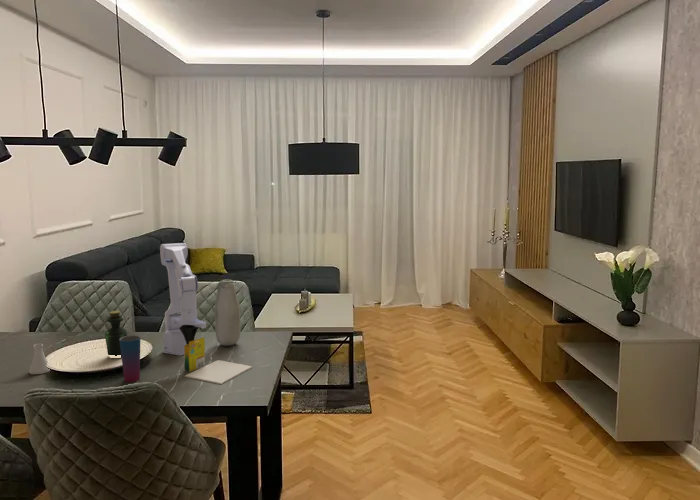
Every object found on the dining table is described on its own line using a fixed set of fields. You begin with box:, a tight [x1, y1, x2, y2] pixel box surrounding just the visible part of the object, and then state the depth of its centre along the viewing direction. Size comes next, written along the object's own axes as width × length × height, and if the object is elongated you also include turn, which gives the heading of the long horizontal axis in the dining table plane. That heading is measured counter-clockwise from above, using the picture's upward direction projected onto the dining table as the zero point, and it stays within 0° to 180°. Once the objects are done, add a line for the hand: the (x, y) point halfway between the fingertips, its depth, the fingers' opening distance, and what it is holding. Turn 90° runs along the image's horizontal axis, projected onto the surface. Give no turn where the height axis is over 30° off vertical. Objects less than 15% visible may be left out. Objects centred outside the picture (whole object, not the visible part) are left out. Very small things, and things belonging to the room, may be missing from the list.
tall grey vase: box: [214, 279, 241, 347], centre depth 228 cm, size 10×10×28 cm
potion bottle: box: [104, 310, 128, 356], centre depth 214 cm, size 8×8×18 cm
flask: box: [28, 343, 51, 375], centre depth 198 cm, size 7×7×10 cm
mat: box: [184, 359, 253, 385], centre depth 199 cm, size 16×18×1 cm
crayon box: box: [184, 336, 206, 373], centre depth 201 cm, size 7×3×12 cm, turn 145°
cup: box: [119, 334, 141, 383], centre depth 190 cm, size 7×7×15 cm
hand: (189, 344), depth 202 cm, fingers closed
